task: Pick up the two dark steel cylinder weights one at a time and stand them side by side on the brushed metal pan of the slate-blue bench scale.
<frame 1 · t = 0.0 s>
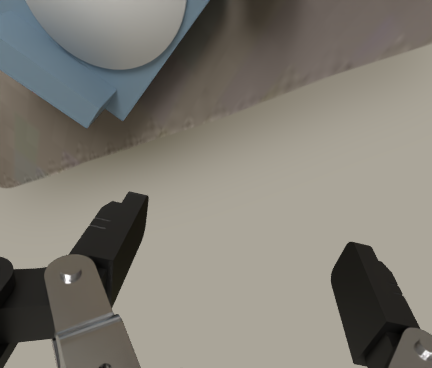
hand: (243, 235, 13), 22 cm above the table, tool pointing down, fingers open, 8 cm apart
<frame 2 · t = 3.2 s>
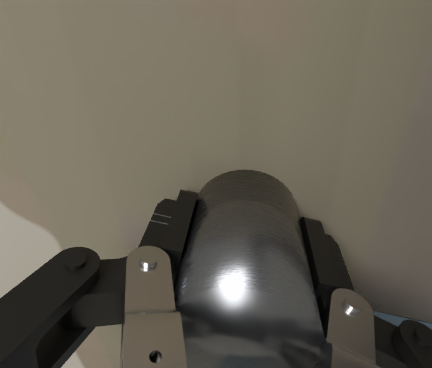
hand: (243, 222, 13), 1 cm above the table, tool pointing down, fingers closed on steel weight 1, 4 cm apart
steel weight 1: (244, 214, 14), on the table, touching gripper
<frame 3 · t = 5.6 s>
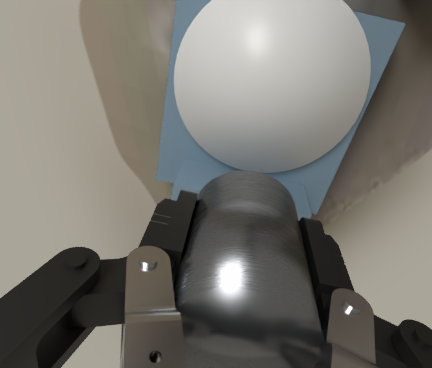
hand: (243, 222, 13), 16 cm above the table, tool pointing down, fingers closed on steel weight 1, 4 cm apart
bench scale: (259, 98, 27), on the table
steel weight 1: (244, 215, 14), point 15 cm above the table, touching gripper
when the fingers open (7 cm above the table, at t = 7.8 s): steel weight 1 drops 1 cm, resting on bench scale.
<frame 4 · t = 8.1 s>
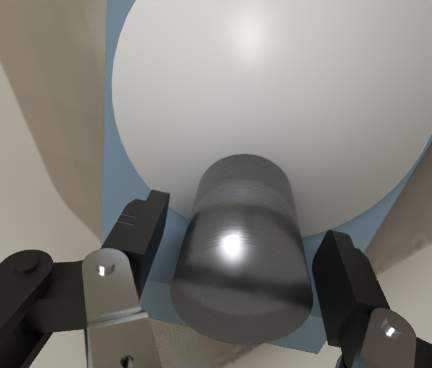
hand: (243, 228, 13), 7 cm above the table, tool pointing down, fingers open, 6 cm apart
bench scale: (254, 124, 18), on the table
steel weight 1: (244, 196, 15), point 5 cm above the table, touching bench scale
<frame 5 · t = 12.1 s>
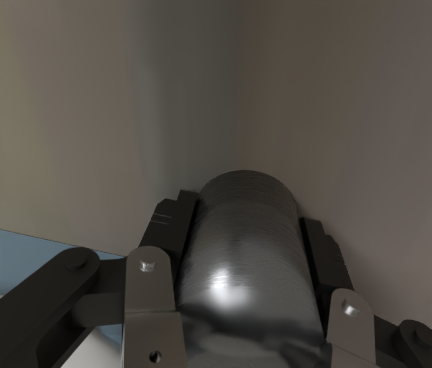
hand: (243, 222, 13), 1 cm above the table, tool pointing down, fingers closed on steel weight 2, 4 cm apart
bench scale: (69, 334, 20), on the table
steel weight 2: (244, 215, 14), on the table, touching gripper
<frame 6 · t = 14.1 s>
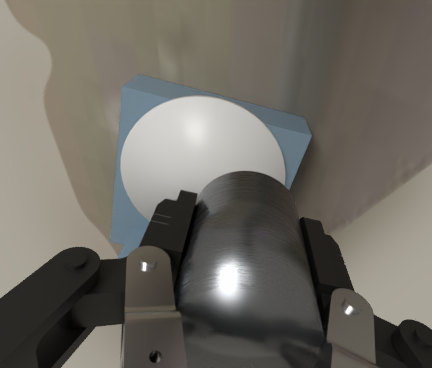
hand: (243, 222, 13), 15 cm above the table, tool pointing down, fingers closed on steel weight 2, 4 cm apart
bench scale: (203, 172, 30), on the table
steel weight 2: (245, 215, 14), point 15 cm above the table, touching gripper
when the fingers open (7 cm above the table, at t = 16.3 s): steel weight 2 drops 1 cm, resting on bench scale.
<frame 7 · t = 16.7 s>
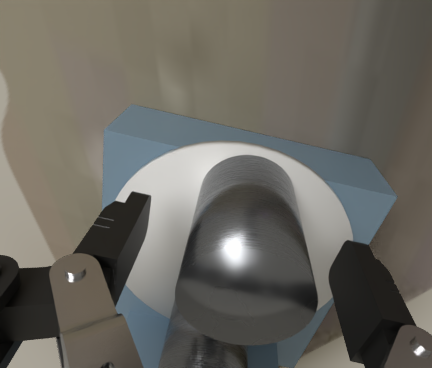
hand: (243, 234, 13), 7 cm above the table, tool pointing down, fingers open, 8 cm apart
bench scale: (224, 231, 22), on the table
steel weight 2: (246, 197, 15), point 5 cm above the table, touching bench scale
steel weight 1: (211, 304, 19), point 5 cm above the table, touching bench scale
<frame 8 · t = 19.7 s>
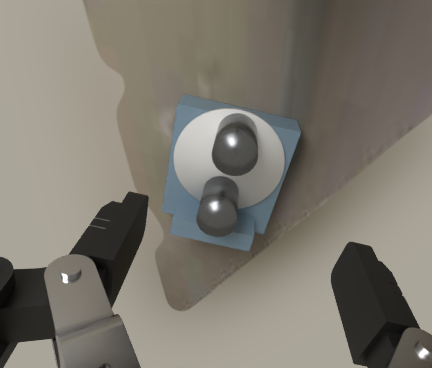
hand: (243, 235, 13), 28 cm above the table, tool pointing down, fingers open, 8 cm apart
bench scale: (226, 161, 42), on the table
steel weight 2: (237, 132, 35), point 5 cm above the table, touching bench scale
steel weight 1: (220, 191, 39), point 5 cm above the table, touching bench scale
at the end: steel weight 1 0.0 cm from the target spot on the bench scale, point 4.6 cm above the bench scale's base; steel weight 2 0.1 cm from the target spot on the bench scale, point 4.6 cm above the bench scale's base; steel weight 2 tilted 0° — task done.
